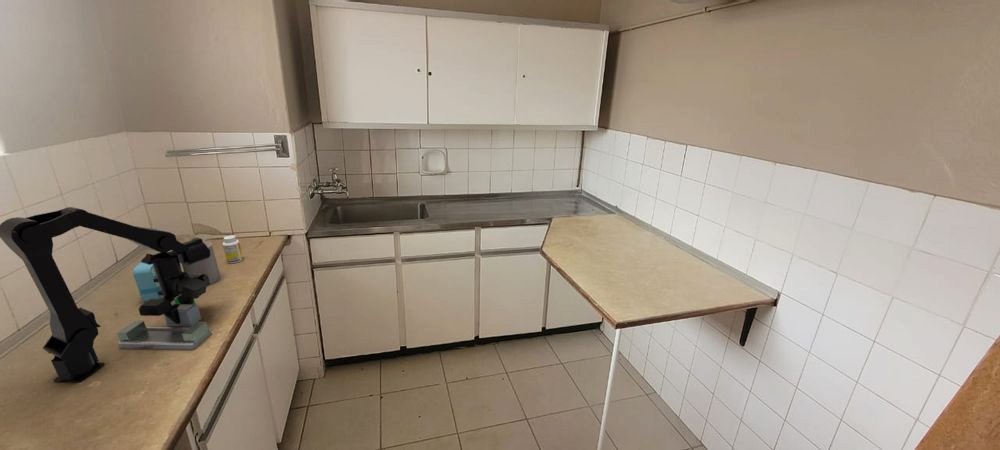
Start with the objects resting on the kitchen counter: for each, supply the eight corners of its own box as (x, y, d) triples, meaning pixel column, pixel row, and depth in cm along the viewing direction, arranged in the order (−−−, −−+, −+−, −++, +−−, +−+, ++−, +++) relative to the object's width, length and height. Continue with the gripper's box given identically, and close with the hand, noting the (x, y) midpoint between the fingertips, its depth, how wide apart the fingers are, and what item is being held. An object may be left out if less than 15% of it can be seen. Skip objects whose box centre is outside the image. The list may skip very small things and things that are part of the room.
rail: (193, 349, 106) (189, 335, 105) (119, 348, 106) (114, 334, 105) (211, 334, 113) (207, 320, 111) (142, 332, 113) (137, 319, 111)
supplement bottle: (236, 256, 161) (231, 233, 157) (246, 259, 159) (241, 235, 155) (223, 262, 156) (217, 238, 152) (233, 264, 154) (227, 240, 151)
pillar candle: (187, 279, 142) (175, 241, 137) (220, 272, 148) (210, 235, 143) (188, 291, 135) (175, 251, 130) (222, 282, 141) (211, 244, 135)
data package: (160, 301, 129) (149, 268, 125) (143, 304, 127) (131, 270, 123) (173, 284, 139) (164, 253, 135) (158, 286, 138) (147, 255, 134)
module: (191, 326, 116) (186, 311, 114) (167, 326, 116) (162, 310, 114) (201, 318, 120) (196, 303, 118) (178, 318, 120) (173, 303, 118)
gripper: (171, 289, 103) (186, 339, 109) (219, 258, 121) (231, 303, 126) (128, 288, 103) (146, 338, 109) (183, 258, 121) (196, 302, 126)
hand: (183, 319), depth 118 cm, fingers closed on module, 4 cm apart
